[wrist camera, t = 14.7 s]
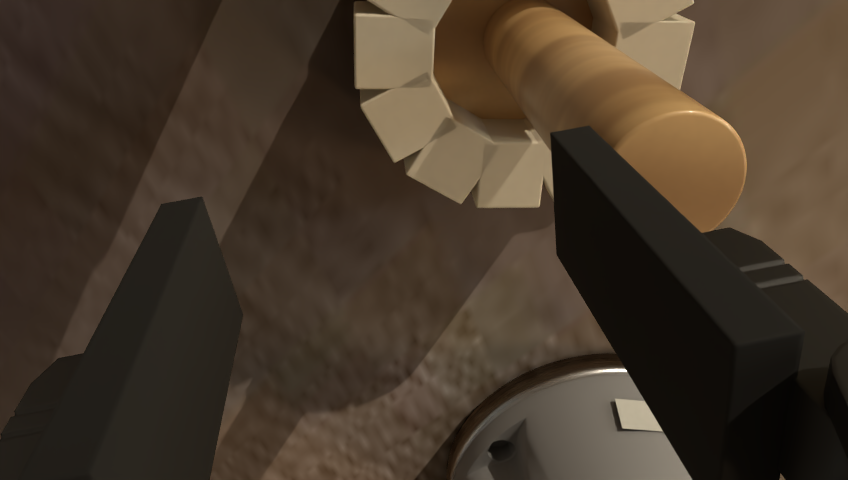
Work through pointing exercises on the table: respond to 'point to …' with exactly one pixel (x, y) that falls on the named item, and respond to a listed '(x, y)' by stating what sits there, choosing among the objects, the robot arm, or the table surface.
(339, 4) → the table surface
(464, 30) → the post stand
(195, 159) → the table surface
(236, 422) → the table surface
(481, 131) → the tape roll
